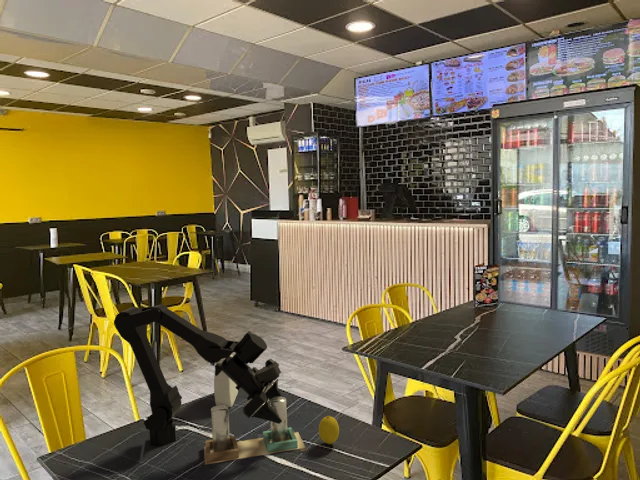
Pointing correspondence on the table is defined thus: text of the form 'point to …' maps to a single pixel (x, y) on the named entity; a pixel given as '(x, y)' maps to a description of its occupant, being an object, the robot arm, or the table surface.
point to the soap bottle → (224, 389)
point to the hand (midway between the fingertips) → (283, 414)
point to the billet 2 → (280, 429)
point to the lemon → (328, 430)
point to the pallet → (253, 447)
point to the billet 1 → (220, 428)
